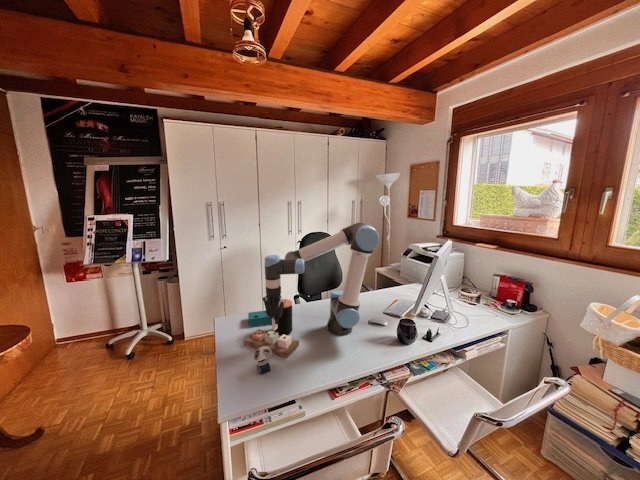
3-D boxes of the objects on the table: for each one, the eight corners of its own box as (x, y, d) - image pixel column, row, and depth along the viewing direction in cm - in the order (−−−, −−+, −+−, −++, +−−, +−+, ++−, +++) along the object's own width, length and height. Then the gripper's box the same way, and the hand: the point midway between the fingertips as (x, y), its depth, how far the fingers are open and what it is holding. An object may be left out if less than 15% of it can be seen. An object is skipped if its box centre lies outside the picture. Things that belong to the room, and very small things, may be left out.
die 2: (278, 339, 138) (278, 332, 138) (272, 344, 134) (272, 337, 133) (270, 337, 140) (270, 330, 140) (264, 342, 136) (264, 334, 135)
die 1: (265, 339, 142) (265, 331, 141) (260, 344, 137) (260, 336, 137) (258, 336, 144) (258, 329, 143) (252, 341, 139) (252, 334, 139)
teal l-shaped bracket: (277, 316, 170) (276, 301, 169) (280, 323, 160) (279, 306, 159) (248, 320, 165) (247, 304, 164) (249, 327, 154) (248, 310, 153)
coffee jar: (295, 329, 154) (295, 301, 150) (285, 338, 144) (285, 308, 141) (280, 325, 158) (280, 297, 154) (269, 334, 148) (269, 304, 145)
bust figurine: (252, 369, 119) (252, 347, 117) (269, 363, 124) (269, 342, 122) (257, 376, 115) (256, 354, 113) (274, 370, 119) (273, 348, 117)
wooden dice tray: (299, 345, 138) (299, 340, 137) (286, 359, 127) (286, 353, 126) (258, 334, 148) (258, 329, 148) (244, 345, 138) (244, 340, 137)
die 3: (291, 343, 135) (291, 336, 134) (286, 348, 131) (286, 341, 130) (283, 341, 137) (283, 333, 136) (277, 346, 133) (277, 338, 132)
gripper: (288, 285, 131) (289, 328, 136) (267, 281, 137) (269, 323, 141) (279, 290, 125) (281, 335, 129) (258, 286, 130) (260, 329, 135)
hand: (275, 329), depth 135 cm, fingers closed
